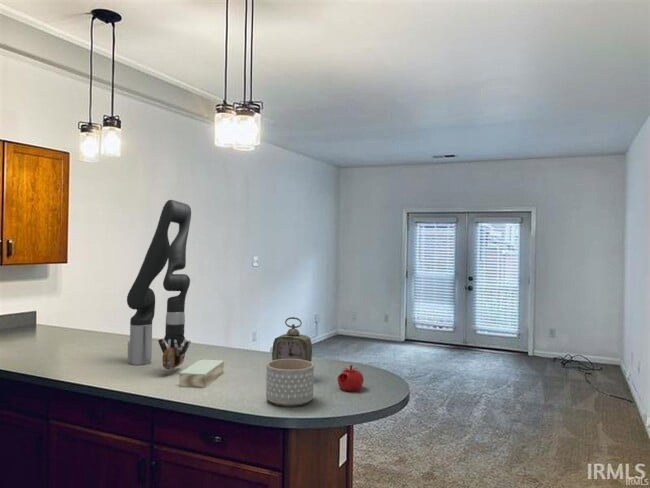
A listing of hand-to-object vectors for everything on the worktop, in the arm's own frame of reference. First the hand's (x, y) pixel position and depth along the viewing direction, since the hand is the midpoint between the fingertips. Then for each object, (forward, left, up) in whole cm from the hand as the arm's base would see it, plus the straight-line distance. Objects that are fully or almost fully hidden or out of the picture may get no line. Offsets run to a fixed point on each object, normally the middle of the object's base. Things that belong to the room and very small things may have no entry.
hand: (173, 363), depth 209 cm
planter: (+54, -26, -4) cm, 60 cm away
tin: (0, 0, -1) cm, 1 cm away
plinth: (+15, -6, -4) cm, 17 cm away
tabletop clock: (+50, +1, -4) cm, 50 cm away
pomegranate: (+74, -8, -4) cm, 74 cm away
